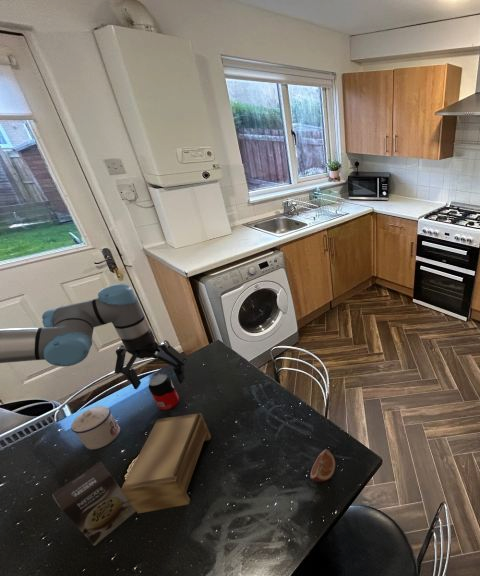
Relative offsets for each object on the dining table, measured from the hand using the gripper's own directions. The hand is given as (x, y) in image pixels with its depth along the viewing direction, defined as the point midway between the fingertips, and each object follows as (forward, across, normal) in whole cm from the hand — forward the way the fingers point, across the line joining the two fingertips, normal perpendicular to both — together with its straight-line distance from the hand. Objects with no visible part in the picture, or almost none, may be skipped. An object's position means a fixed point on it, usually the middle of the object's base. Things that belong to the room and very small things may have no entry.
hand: (160, 383), depth 104 cm
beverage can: (+10, 0, 0) cm, 10 cm away
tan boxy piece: (+10, -12, +26) cm, 30 cm away
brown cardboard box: (+10, 0, +37) cm, 38 cm away
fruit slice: (+11, -53, +34) cm, 64 cm away
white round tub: (+10, +16, +9) cm, 21 cm away
